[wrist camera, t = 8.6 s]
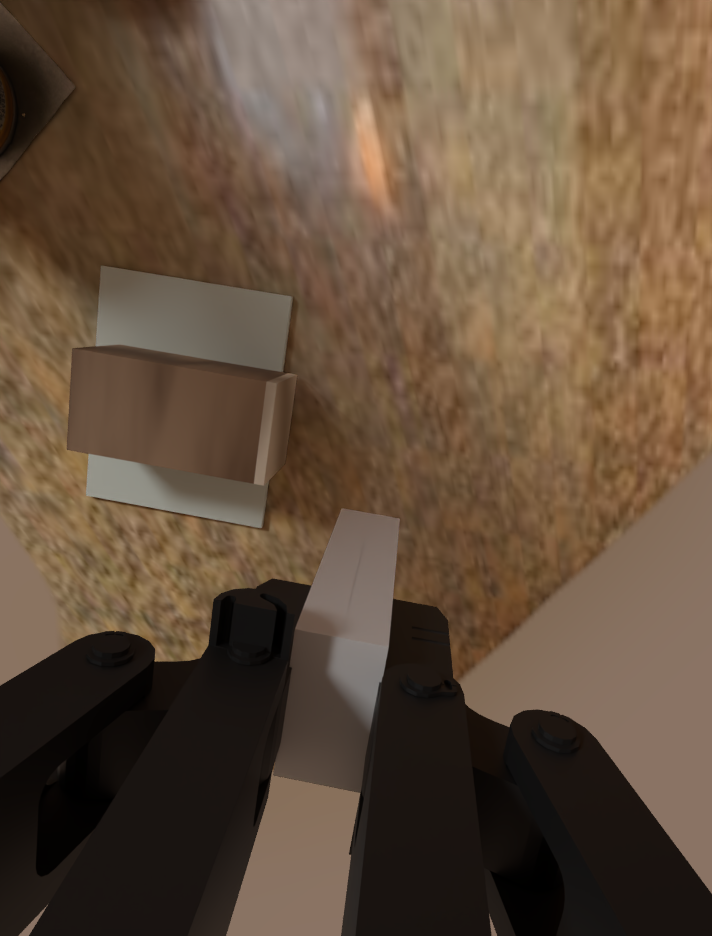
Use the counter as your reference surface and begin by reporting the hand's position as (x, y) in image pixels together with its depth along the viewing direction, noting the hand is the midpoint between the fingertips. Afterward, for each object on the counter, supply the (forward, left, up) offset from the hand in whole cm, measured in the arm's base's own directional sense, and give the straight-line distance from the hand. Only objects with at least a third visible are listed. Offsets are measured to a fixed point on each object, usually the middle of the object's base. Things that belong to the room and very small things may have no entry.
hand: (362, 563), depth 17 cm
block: (-6, 0, -17) cm, 18 cm away
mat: (-12, 0, -20) cm, 23 cm away
